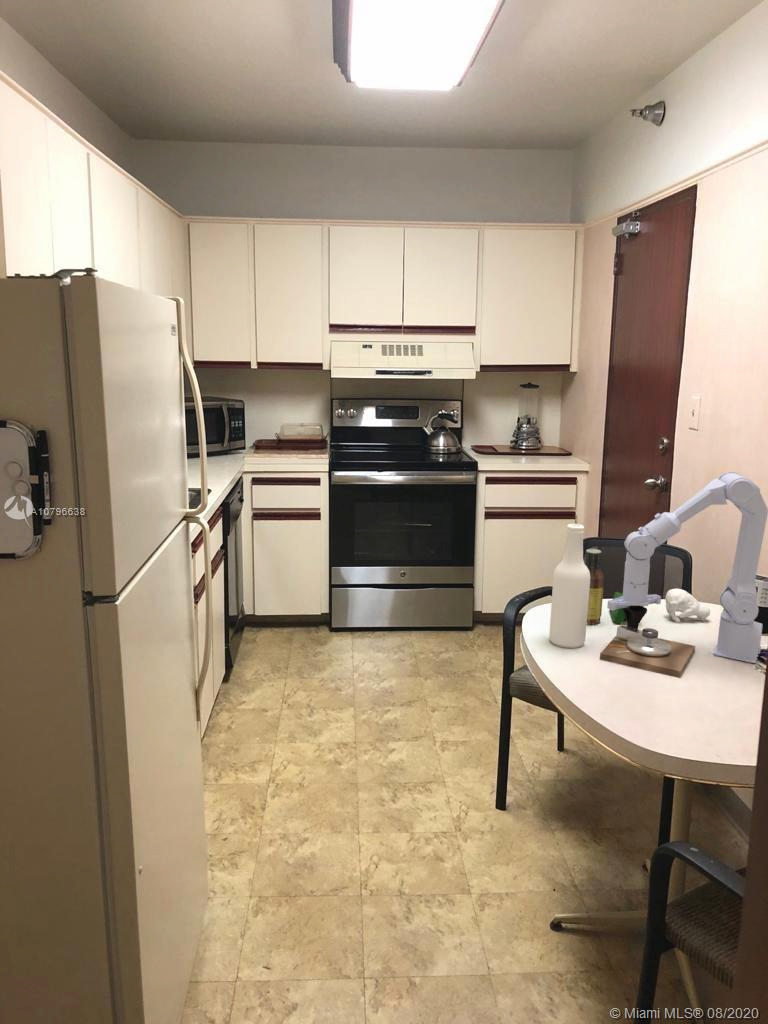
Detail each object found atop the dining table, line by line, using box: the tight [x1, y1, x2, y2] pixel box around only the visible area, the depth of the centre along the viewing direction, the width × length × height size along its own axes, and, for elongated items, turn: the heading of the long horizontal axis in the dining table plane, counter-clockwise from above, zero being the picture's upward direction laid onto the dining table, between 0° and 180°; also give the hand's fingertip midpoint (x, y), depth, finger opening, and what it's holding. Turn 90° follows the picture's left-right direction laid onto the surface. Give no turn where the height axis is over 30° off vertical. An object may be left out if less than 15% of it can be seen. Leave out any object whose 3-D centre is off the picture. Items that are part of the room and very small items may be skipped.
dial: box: [615, 624, 671, 657], centre depth 180 cm, size 13×10×4 cm
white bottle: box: [548, 523, 590, 649], centre depth 184 cm, size 9×9×30 cm
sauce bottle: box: [584, 548, 605, 625], centre depth 200 cm, size 7×6×20 cm
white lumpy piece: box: [665, 588, 711, 623], centre depth 204 cm, size 6×8×12 cm
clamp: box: [608, 591, 627, 625], centre depth 204 cm, size 12×6×9 cm, turn 163°
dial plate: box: [599, 635, 696, 678], centre depth 180 cm, size 18×18×2 cm
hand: (631, 634), depth 185 cm, fingers closed, pressing on dial
